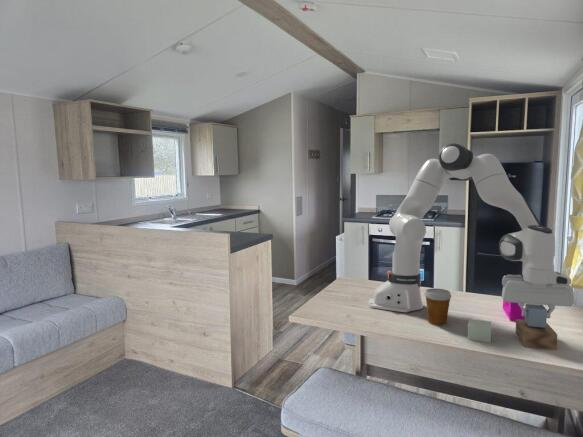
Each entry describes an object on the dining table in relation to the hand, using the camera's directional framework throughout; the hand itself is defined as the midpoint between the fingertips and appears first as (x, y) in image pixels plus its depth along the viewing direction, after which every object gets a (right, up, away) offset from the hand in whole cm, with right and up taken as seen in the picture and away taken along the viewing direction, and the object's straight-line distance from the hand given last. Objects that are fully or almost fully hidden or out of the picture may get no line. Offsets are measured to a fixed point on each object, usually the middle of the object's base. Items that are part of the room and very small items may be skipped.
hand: (535, 316), depth 132 cm
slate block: (0, -3, +1) cm, 3 cm away
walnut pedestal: (0, -8, +1) cm, 8 cm away
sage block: (-16, -8, +5) cm, 19 cm away
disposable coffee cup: (-25, -7, +19) cm, 33 cm away
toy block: (+8, -6, +26) cm, 28 cm away
